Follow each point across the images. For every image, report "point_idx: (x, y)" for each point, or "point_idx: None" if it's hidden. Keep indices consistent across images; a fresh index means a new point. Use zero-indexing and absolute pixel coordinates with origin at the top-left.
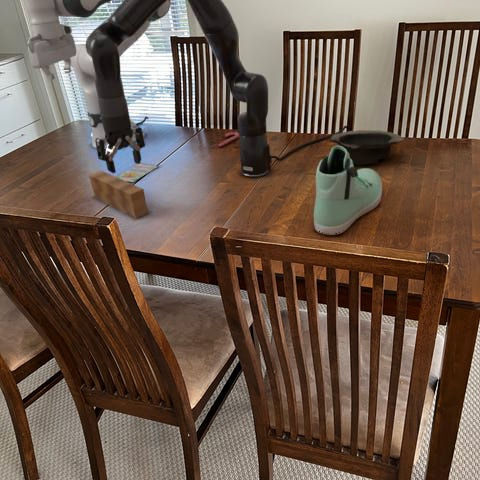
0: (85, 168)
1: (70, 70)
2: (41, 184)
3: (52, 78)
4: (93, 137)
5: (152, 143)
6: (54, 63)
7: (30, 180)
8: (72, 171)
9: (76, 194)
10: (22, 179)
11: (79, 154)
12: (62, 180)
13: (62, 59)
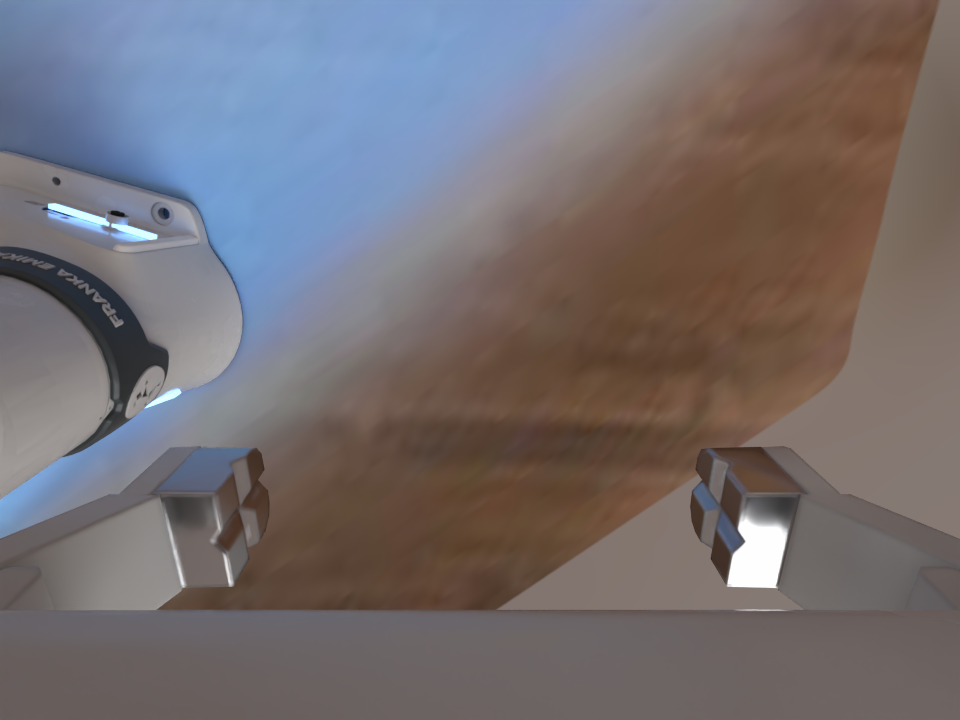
0: (473, 244)
1: (185, 454)
2: (663, 342)
3: (775, 449)
4: (199, 366)
5: (69, 43)
6: (788, 610)
7: (627, 415)
8: (515, 288)
9: (761, 102)
10: (620, 454)
11: (325, 377)
12: (616, 273)
13: (328, 624)
